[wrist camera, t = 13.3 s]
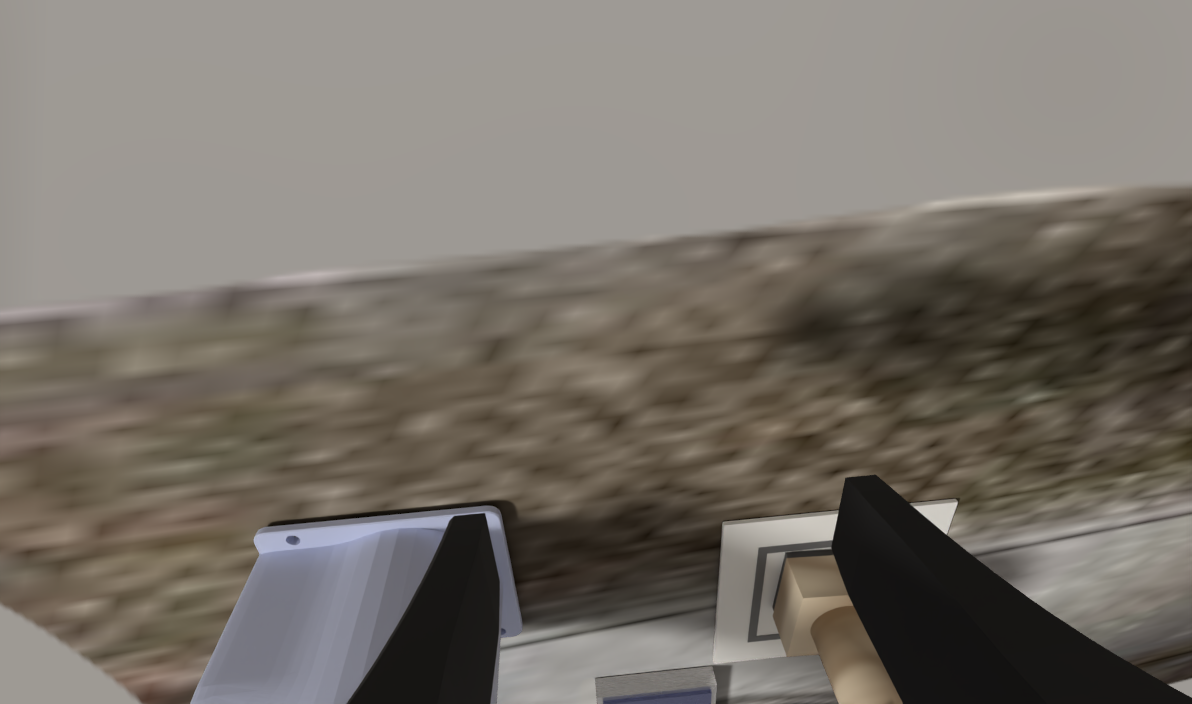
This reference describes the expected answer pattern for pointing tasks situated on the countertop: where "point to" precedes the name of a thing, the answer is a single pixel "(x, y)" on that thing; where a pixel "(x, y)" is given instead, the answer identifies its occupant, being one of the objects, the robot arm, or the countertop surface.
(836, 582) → the stamp
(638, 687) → the ink pad
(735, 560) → the paper
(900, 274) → the countertop surface
